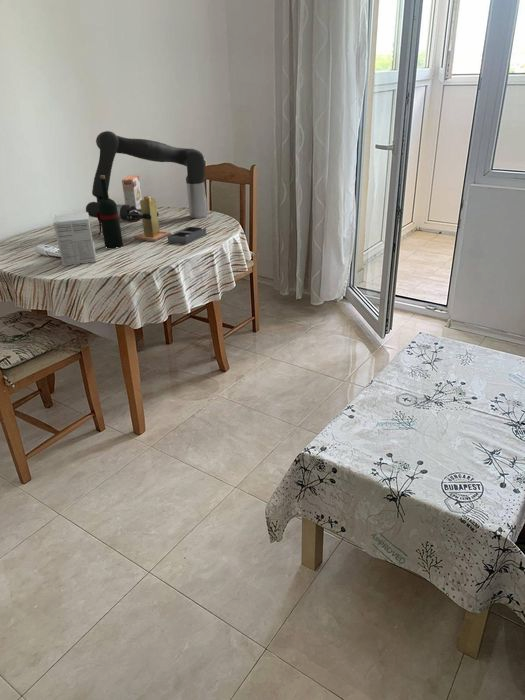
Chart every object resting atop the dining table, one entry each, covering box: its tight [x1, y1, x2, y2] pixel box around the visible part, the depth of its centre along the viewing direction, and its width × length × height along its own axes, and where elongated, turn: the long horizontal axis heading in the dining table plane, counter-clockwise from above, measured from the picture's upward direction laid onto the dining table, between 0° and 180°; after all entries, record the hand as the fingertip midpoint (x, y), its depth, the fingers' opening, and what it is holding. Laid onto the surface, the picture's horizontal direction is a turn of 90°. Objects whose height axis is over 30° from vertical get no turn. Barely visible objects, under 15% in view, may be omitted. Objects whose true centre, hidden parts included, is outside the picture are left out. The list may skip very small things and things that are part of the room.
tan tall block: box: [140, 195, 161, 237], centre depth 237 cm, size 5×5×17 cm
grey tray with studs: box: [167, 226, 207, 245], centre depth 237 cm, size 17×10×3 cm, turn 155°
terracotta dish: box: [133, 230, 172, 243], centre depth 241 cm, size 12×12×1 cm
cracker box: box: [121, 174, 143, 222], centre depth 271 cm, size 14×6×21 cm, turn 179°
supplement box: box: [53, 211, 97, 266], centre depth 211 cm, size 13×13×18 cm
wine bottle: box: [97, 175, 124, 249], centre depth 224 cm, size 8×10×30 cm
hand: (154, 215), depth 236 cm, fingers closed on tan tall block, 5 cm apart
